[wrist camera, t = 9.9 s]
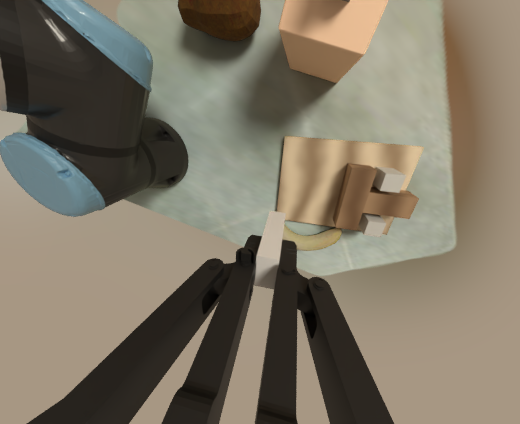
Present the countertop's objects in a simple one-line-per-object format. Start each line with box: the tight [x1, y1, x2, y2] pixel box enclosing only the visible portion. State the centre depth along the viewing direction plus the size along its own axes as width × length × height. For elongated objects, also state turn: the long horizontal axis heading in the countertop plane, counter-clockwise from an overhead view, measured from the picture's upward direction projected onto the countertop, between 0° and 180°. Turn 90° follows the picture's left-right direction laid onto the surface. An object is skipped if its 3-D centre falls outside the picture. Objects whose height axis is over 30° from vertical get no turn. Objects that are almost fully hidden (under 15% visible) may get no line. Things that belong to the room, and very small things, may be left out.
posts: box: [359, 167, 406, 237], centre depth 36 cm, size 3×12×5 cm, turn 177°
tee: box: [333, 163, 419, 230], centre depth 36 cm, size 12×12×4 cm
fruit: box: [282, 224, 342, 251], centre depth 45 cm, size 7×15×3 cm, turn 87°
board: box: [277, 136, 424, 235], centre depth 39 cm, size 24×18×1 cm
